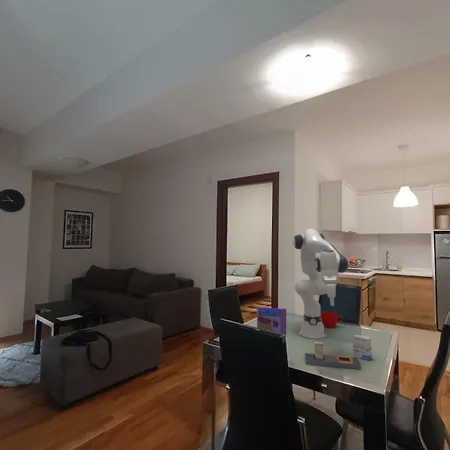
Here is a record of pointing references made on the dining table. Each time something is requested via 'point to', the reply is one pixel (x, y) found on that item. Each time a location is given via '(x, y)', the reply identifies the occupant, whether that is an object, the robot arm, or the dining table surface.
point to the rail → (333, 361)
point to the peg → (319, 350)
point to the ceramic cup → (329, 319)
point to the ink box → (362, 347)
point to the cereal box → (272, 319)
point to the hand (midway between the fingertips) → (332, 304)
